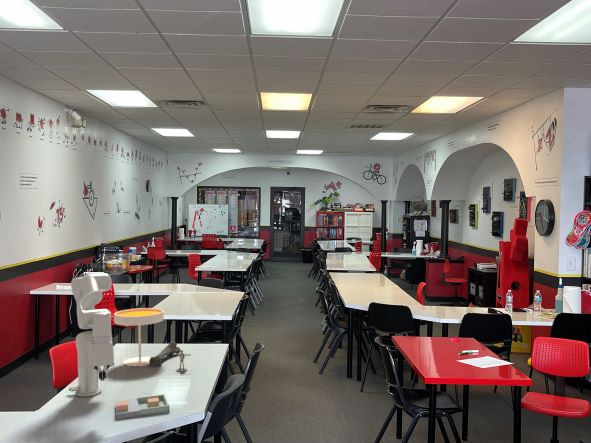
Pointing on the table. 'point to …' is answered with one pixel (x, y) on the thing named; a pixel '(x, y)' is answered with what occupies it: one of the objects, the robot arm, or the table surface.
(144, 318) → the round pedestal stand
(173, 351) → the bone
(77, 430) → the table surface
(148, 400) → the tile far
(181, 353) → the figurine
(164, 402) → the tray
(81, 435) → the table surface
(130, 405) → the deck
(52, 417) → the table surface
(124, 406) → the tile near
